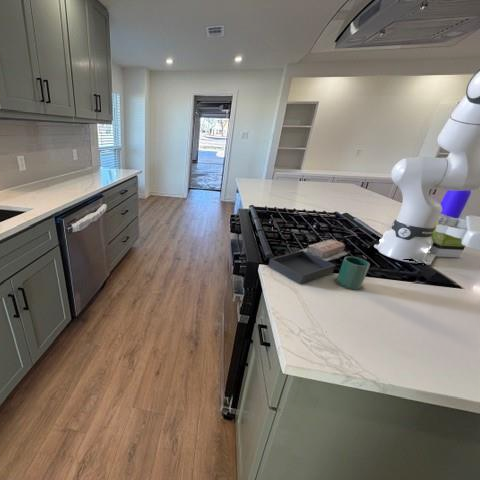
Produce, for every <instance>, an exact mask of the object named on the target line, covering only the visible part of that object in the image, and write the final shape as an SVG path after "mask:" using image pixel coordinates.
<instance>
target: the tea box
mask: <svg viewBox="0 0 480 480" xmlns="http://www.w3.org/2000/svg"><path fill="white" fill-rule="evenodd" d="M440 217H447V218H453V217H449V216H446V215H443V214H440V216H439V218H440ZM439 218H438V220H439ZM438 220H437V222H436V224H435V226H436V228H437V226H438V225H439V224H438ZM449 226H450V225H449ZM450 227H455V228H459V227H456V226H450ZM436 228H435V230H434V233H433V235H432V236H431V238H432V240H433V245H432V247H431V249H430V252H432V253H434V254H436V256H435V257H439V258H460V256H461V255H462V253H463V252H464V250H465V248H466V246H464V245H462V239H460V238H455V237H453V236H450V235H447V234H444V233H440V232H436Z"/></svg>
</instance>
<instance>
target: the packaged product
mask: <svg viewBox="0 0 480 480" xmlns="http://www.w3.org/2000/svg"><path fill="white" fill-rule="evenodd" d="M345 247H346V244H345V243H344V242H342V241H338V240H336V239H332V238H330V239H326V240H323V241H319V242H315V243H313V244H308V246H307V247H306V248H303V249H299V251H301V250H303V251H305V252H307V253H309V254H312V255H314V256H316V257H319V258H321V259H323V260H325V261H328V262H330V261H334V260H338V259H340V258H342V257H345V256H348V254H349V252H347V251H345Z"/></svg>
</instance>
